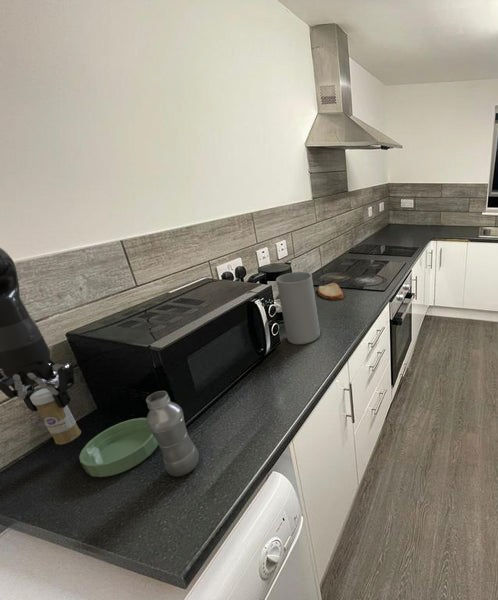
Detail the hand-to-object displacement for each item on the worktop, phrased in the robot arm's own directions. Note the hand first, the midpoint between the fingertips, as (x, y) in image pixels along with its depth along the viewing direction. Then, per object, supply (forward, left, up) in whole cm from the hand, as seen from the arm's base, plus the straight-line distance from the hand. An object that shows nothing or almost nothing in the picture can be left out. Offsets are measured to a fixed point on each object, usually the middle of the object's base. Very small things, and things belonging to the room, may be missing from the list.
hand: (51, 406), depth 72 cm
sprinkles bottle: (0, 0, -10) cm, 10 cm away
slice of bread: (+61, +91, -14) cm, 111 cm away
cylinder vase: (+50, +45, -14) cm, 69 cm away
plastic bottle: (+28, -11, -14) cm, 33 cm away
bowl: (+12, -3, -14) cm, 19 cm away
